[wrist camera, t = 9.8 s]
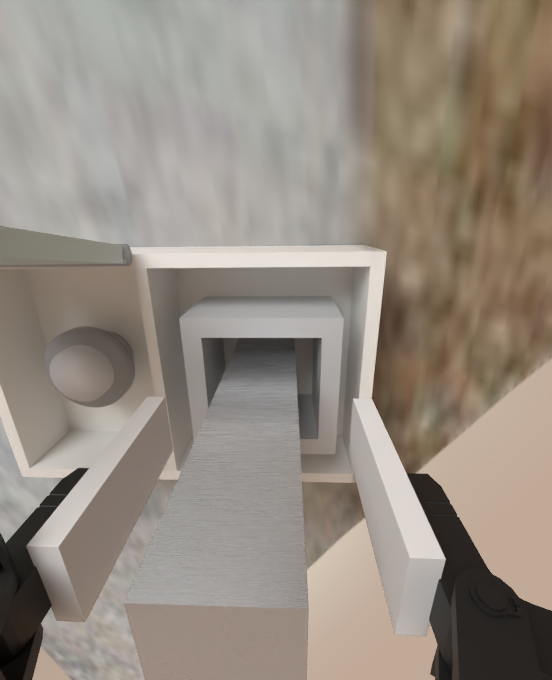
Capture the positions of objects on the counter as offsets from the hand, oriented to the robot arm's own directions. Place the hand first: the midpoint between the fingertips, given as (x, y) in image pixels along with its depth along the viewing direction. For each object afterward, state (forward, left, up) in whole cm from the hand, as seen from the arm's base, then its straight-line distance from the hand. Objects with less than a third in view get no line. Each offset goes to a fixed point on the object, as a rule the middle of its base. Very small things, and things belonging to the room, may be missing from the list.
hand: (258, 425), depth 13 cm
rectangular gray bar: (0, 0, -8) cm, 8 cm away
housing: (0, -5, -9) cm, 11 cm away
